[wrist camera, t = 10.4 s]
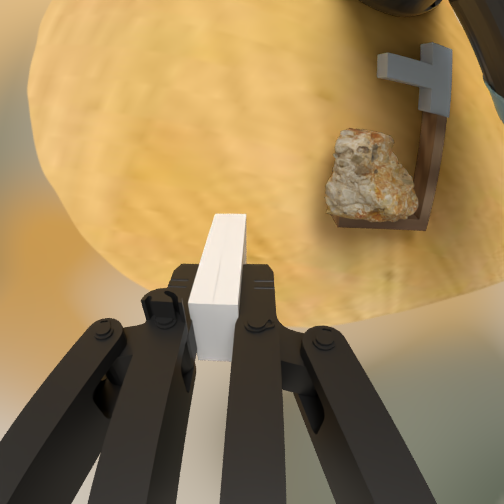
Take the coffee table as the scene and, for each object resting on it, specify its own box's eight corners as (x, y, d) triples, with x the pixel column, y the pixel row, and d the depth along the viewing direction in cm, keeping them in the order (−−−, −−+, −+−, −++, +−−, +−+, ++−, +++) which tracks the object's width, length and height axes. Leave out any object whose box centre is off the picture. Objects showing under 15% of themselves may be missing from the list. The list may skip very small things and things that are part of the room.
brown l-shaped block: (341, 96, 29) (350, 97, 26) (432, 113, 29) (447, 117, 26) (331, 215, 37) (337, 227, 34) (414, 219, 37) (425, 230, 34)
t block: (377, 32, 25) (387, 28, 22) (439, 50, 25) (452, 49, 22) (375, 101, 29) (385, 102, 27) (436, 114, 29) (449, 117, 27)
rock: (308, 198, 36) (325, 236, 27) (324, 116, 31) (350, 127, 22) (393, 213, 36) (427, 251, 28) (413, 140, 31) (457, 160, 23)
